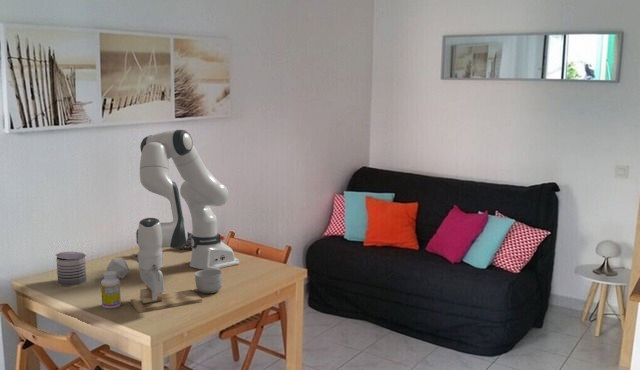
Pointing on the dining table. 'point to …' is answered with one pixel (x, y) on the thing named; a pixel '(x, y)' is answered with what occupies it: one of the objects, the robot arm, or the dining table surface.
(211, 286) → the teacup
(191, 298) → the board
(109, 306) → the supplement bottle
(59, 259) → the can
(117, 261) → the die
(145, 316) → the dining table surface
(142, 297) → the block
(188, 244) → the mineral specimen
